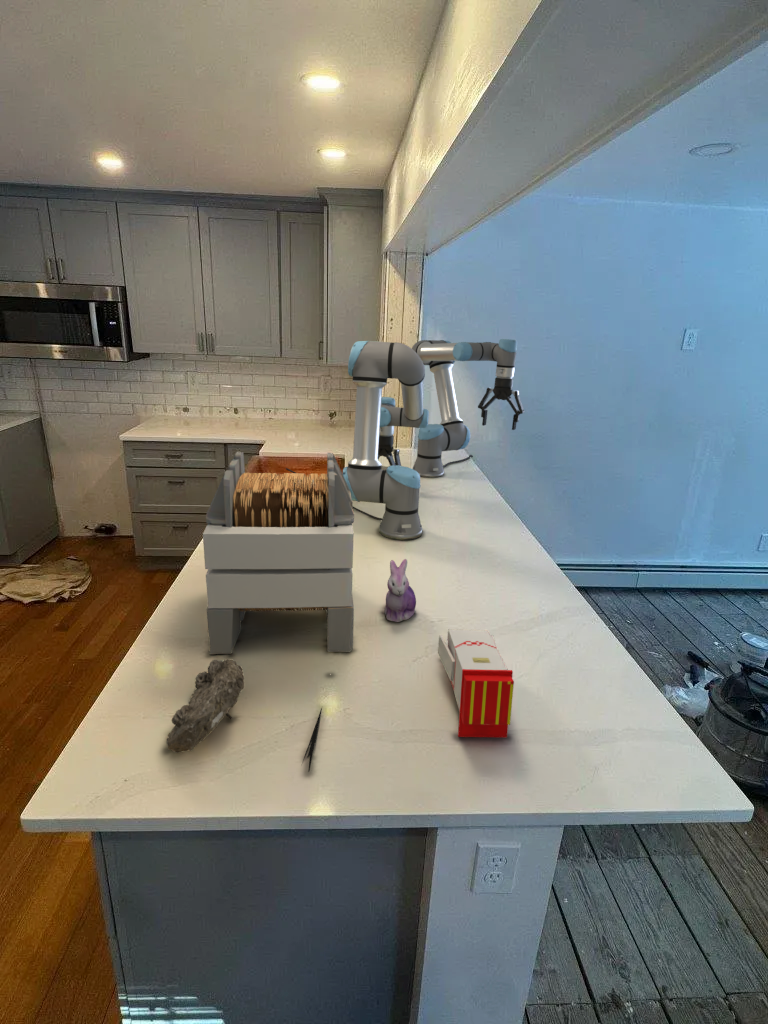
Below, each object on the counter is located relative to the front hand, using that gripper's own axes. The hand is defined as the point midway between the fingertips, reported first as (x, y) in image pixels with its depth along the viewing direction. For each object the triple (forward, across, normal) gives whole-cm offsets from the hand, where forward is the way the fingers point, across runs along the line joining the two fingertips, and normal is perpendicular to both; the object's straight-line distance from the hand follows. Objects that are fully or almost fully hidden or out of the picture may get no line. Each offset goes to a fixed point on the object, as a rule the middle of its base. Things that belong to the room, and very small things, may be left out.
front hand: (382, 485), depth 247 cm
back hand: (-26, +38, +33) cm, 56 cm away
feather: (+2, +67, -132) cm, 148 cm away
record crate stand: (+2, +37, -106) cm, 112 cm away
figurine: (+2, +60, -88) cm, 106 cm away
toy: (+2, +88, -107) cm, 138 cm away
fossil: (+2, +50, -142) cm, 151 cm away
